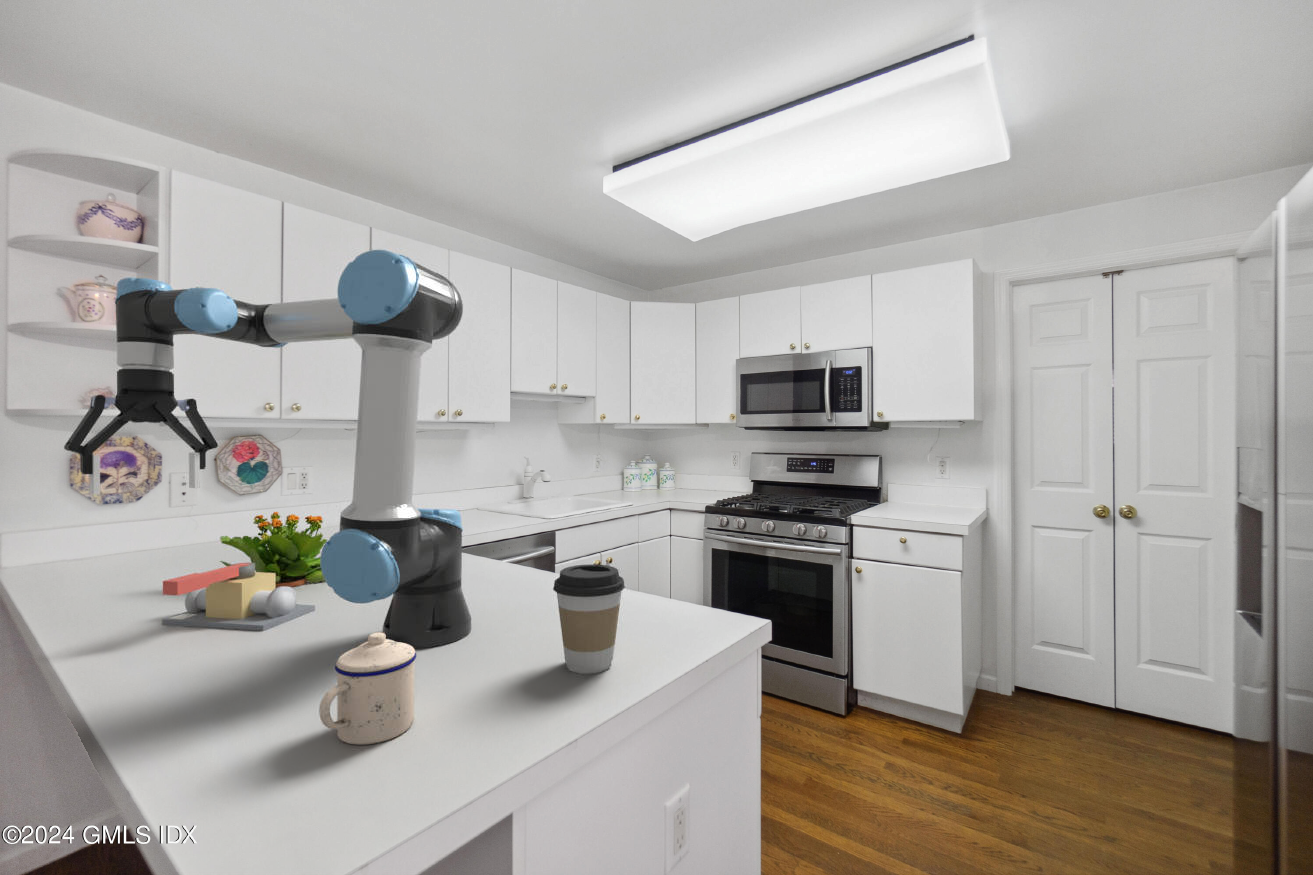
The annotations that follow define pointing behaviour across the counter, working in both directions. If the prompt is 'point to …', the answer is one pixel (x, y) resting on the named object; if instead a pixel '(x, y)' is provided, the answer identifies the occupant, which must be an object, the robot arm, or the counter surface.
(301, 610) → the valve base
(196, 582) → the lever
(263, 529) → the potted flower
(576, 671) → the coffee cup
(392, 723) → the teacup with lid
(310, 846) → the counter surface
